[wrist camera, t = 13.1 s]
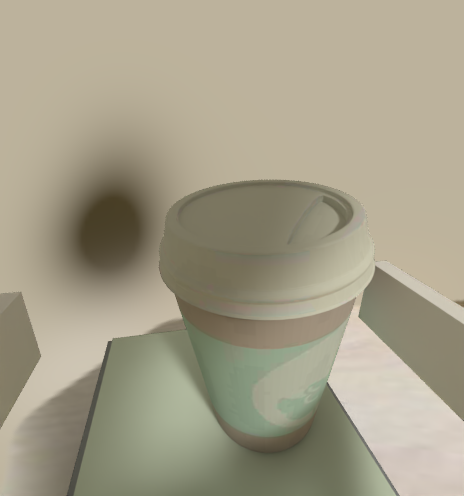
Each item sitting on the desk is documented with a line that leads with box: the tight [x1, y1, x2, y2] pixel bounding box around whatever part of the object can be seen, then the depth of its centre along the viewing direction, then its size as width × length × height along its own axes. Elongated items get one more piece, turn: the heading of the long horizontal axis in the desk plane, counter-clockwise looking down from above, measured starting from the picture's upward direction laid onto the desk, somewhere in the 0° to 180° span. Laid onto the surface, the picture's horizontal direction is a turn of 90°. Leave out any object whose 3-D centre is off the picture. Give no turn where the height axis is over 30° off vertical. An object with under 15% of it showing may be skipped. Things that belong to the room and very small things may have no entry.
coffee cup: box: [159, 180, 375, 453], centre depth 14 cm, size 9×8×12 cm
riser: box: [67, 329, 399, 496], centre depth 19 cm, size 15×15×9 cm
